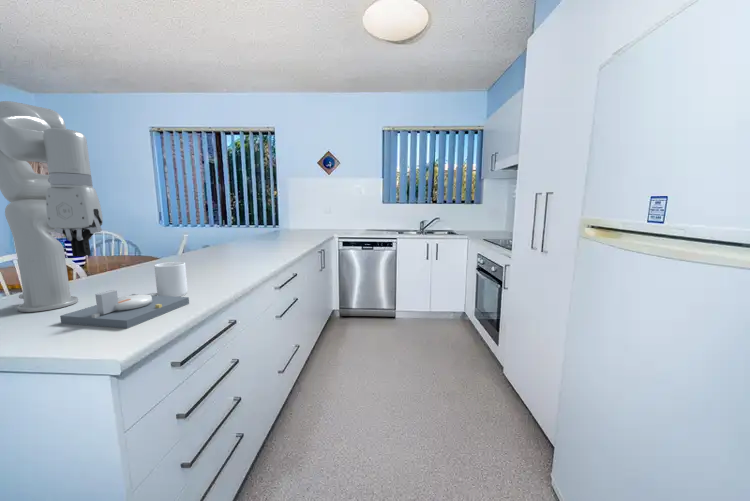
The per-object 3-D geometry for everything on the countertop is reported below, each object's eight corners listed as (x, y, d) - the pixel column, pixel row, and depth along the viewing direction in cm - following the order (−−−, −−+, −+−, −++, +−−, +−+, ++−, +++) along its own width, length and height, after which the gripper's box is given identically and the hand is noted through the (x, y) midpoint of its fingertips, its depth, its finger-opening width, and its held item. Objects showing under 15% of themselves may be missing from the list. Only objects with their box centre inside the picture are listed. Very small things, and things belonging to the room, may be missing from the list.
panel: (61, 323, 79) (59, 312, 79) (133, 300, 98) (132, 291, 98) (127, 328, 76) (126, 317, 75) (189, 303, 95) (188, 294, 95)
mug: (176, 289, 112) (173, 260, 111) (192, 294, 105) (190, 263, 104) (148, 294, 105) (145, 263, 104) (164, 300, 98) (161, 267, 97)
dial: (131, 298, 92) (129, 281, 92) (160, 300, 91) (159, 283, 90) (84, 313, 80) (82, 293, 79) (117, 315, 78) (114, 295, 77)
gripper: (24, 181, 72) (36, 258, 75) (88, 180, 72) (98, 257, 75) (56, 184, 80) (67, 254, 82) (114, 183, 80) (123, 253, 82)
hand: (82, 255), depth 78 cm, fingers closed
